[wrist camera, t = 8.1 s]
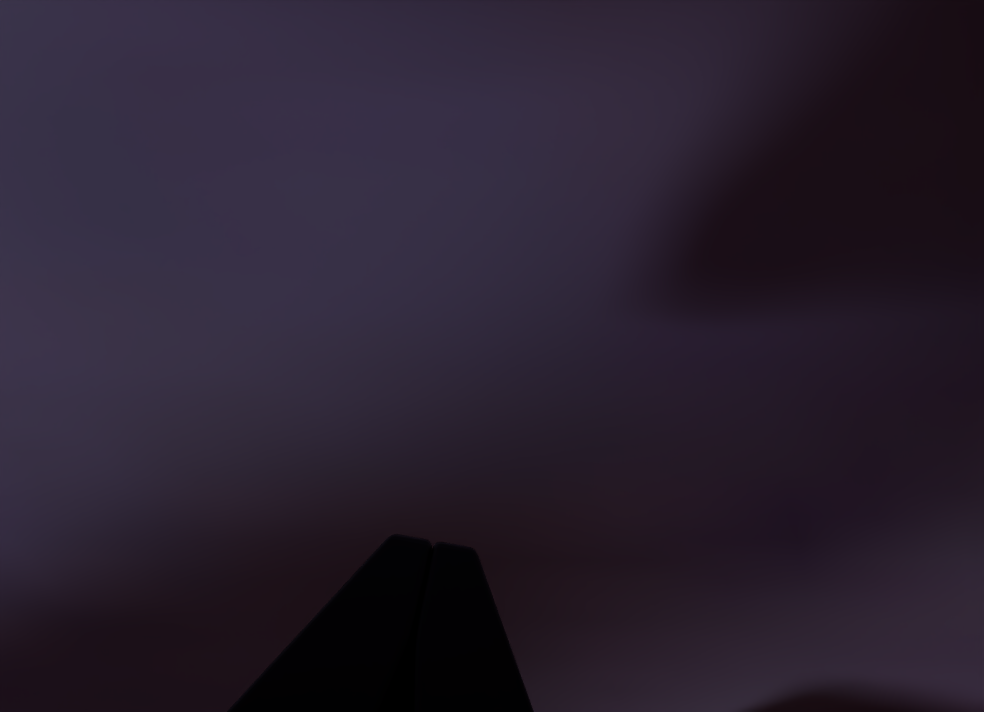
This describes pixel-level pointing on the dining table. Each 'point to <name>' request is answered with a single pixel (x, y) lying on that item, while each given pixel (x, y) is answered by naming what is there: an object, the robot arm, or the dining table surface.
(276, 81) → the dining table surface
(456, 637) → the robot arm
